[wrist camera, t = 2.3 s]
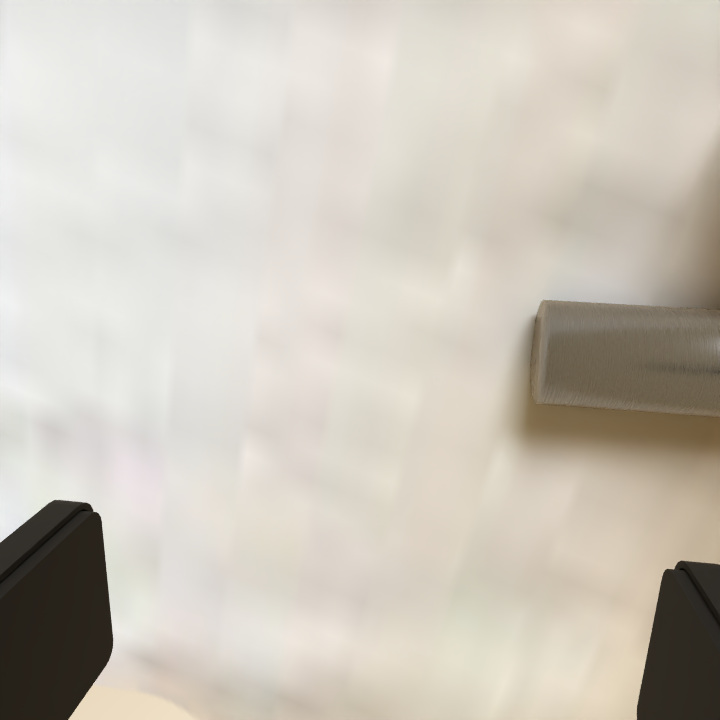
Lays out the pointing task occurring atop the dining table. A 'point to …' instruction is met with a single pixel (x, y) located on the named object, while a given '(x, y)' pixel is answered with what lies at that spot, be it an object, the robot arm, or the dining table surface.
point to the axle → (627, 357)
